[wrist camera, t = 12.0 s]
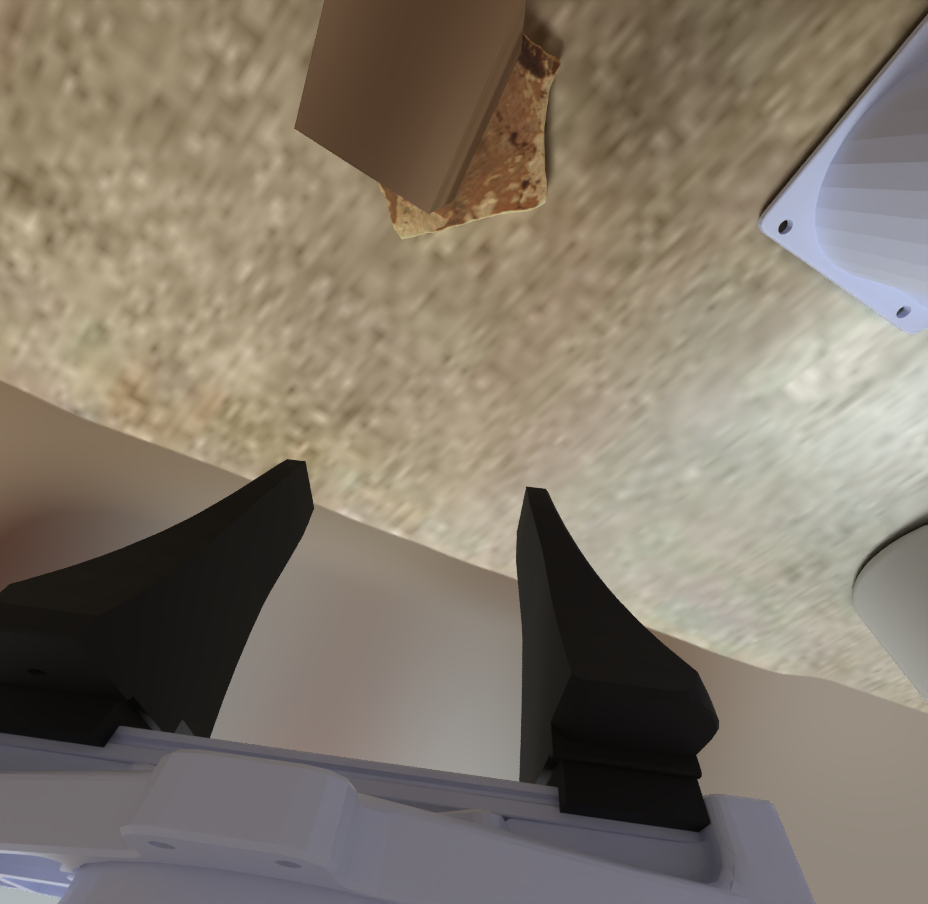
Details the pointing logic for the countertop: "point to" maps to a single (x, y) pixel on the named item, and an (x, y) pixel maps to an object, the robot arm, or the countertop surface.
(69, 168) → the countertop surface
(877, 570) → the cylinder vase
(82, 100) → the countertop surface
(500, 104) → the shard
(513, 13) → the walnut block
